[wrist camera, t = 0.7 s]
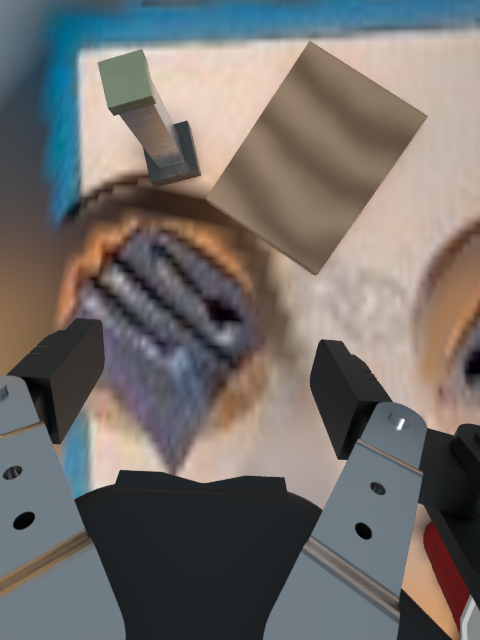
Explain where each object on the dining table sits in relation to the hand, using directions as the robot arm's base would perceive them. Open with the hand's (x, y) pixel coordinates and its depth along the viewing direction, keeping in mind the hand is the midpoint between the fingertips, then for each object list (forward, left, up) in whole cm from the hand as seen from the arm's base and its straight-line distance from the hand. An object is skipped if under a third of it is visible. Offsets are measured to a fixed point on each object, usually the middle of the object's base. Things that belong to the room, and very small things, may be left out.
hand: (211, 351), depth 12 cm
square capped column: (-11, -18, -26) cm, 33 cm away
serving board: (-19, -4, -26) cm, 32 cm away
